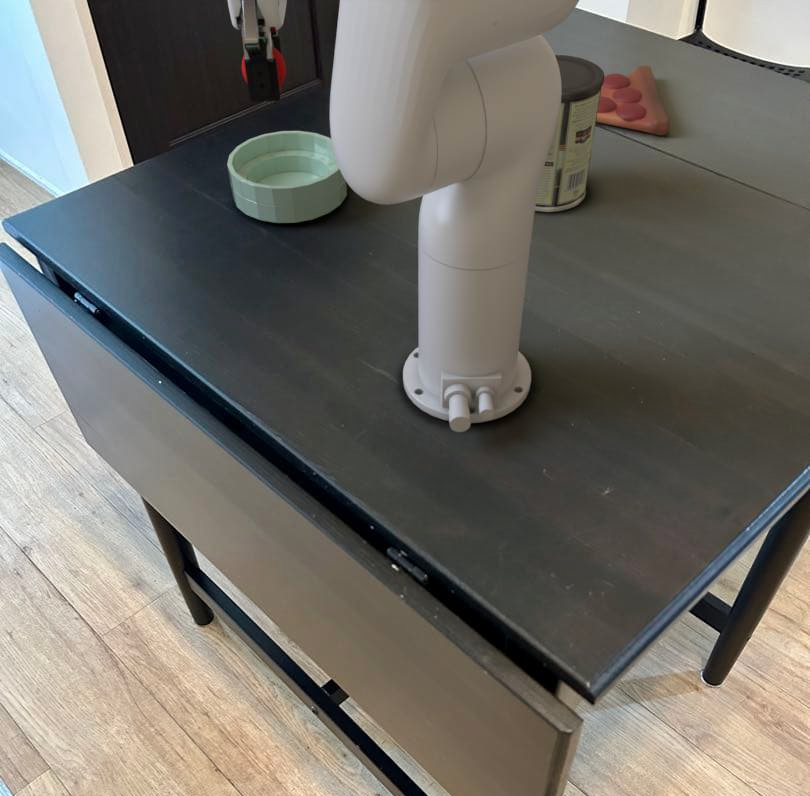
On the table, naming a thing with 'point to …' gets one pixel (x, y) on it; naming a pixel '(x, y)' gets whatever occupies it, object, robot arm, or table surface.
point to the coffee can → (571, 136)
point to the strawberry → (280, 65)
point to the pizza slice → (633, 102)
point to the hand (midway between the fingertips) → (267, 86)
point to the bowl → (286, 177)
